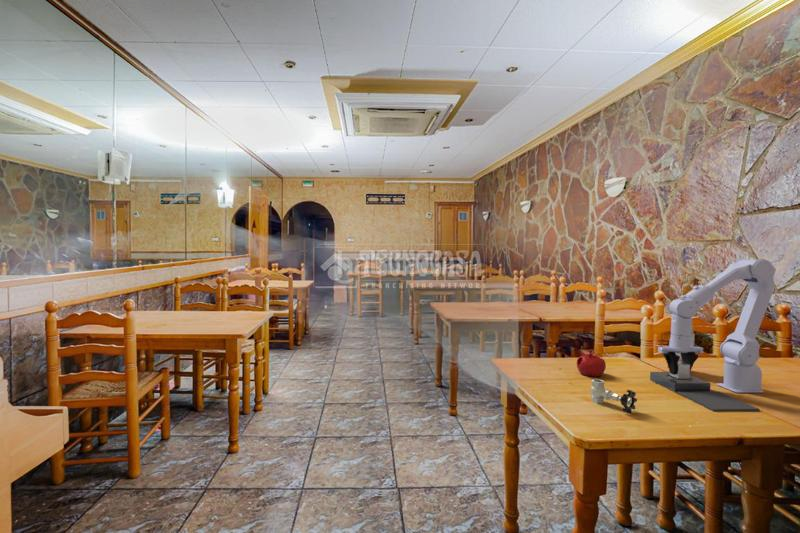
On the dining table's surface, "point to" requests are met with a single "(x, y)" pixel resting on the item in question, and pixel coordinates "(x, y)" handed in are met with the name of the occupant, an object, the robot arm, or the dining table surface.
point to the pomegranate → (591, 364)
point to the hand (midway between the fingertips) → (679, 373)
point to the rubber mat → (718, 401)
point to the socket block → (680, 383)
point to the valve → (611, 395)
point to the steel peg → (681, 371)
